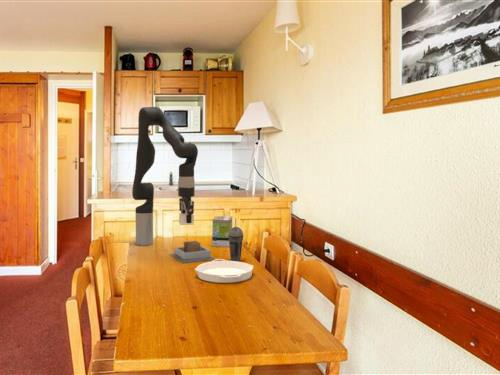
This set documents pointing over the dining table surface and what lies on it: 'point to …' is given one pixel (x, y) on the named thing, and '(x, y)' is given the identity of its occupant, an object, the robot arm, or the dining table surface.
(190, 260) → the grey shallow box
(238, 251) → the beverage cup
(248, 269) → the pan
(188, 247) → the walnut block
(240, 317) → the dining table surface
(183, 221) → the cream block
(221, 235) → the tea box
